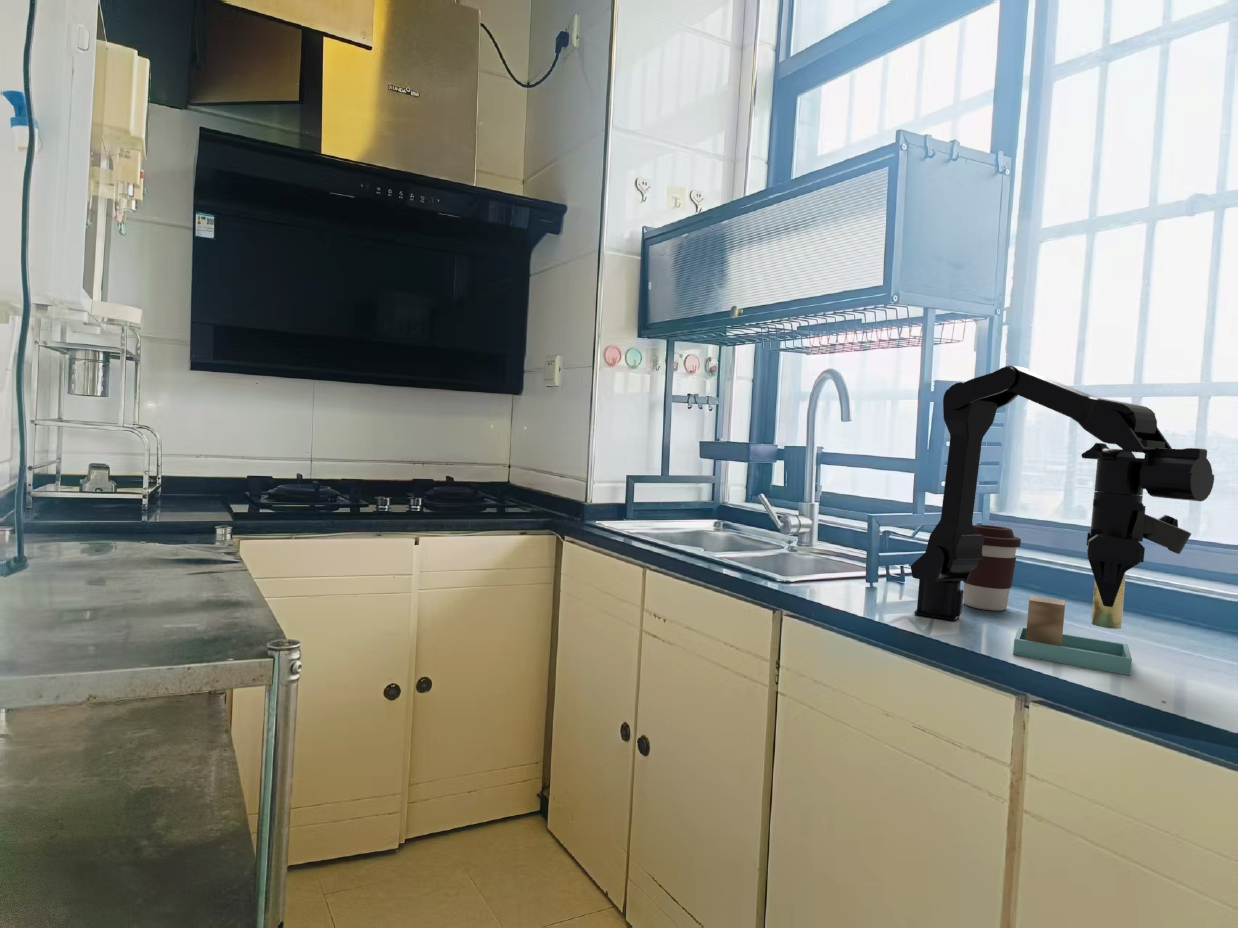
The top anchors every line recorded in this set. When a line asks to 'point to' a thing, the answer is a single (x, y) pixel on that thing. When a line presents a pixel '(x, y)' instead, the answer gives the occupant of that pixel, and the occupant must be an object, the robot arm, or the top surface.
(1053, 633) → the walnut block
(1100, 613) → the brass peg
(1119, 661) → the parts tray
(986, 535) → the coffee cup
